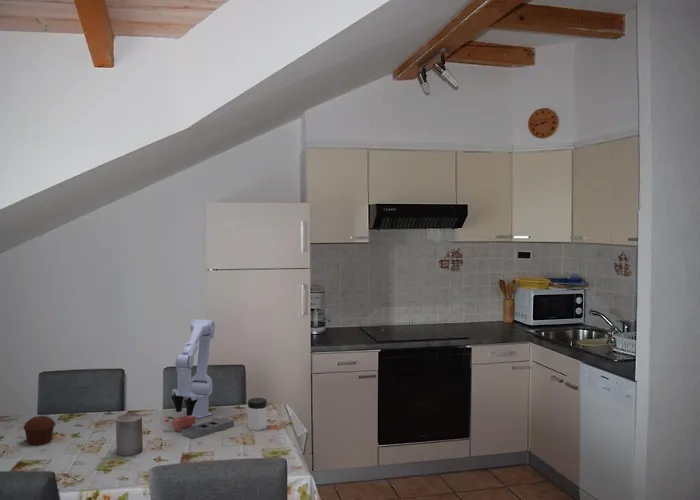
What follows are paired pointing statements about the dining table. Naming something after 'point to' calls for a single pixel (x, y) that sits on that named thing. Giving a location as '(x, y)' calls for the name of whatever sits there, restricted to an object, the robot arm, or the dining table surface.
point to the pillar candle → (129, 434)
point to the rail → (207, 428)
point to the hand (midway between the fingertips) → (184, 413)
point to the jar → (257, 414)
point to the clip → (183, 422)
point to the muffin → (39, 430)
